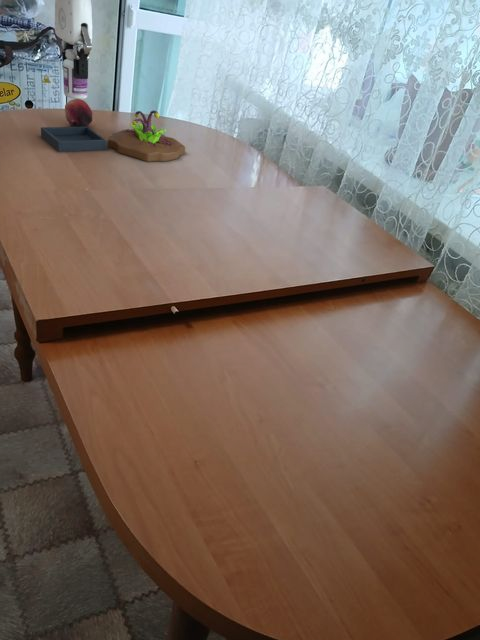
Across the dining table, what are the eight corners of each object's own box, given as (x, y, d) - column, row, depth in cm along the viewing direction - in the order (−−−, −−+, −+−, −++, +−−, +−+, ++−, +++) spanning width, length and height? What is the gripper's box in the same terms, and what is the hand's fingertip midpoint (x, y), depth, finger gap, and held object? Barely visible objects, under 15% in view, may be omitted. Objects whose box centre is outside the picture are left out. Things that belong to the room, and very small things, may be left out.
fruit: (85, 124, 166) (85, 96, 162) (97, 132, 162) (97, 104, 157) (60, 124, 162) (60, 95, 157) (71, 133, 157) (71, 103, 153)
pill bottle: (90, 96, 131) (90, 52, 126) (83, 101, 127) (83, 55, 121) (67, 91, 131) (67, 47, 125) (60, 96, 127) (59, 50, 121)
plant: (152, 166, 148) (155, 124, 142) (97, 144, 154) (97, 102, 147) (194, 154, 163) (198, 115, 157) (143, 134, 169) (145, 95, 162)
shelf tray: (58, 151, 144) (58, 141, 142) (41, 136, 150) (40, 127, 149) (106, 149, 152) (106, 140, 150) (87, 135, 158) (87, 126, 157)
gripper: (40, -28, 118) (44, 64, 129) (73, -13, 109) (74, 84, 119) (74, -23, 123) (75, 65, 133) (108, -8, 113) (106, 86, 124)
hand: (75, 73), depth 126 cm, fingers closed on pill bottle, 5 cm apart
